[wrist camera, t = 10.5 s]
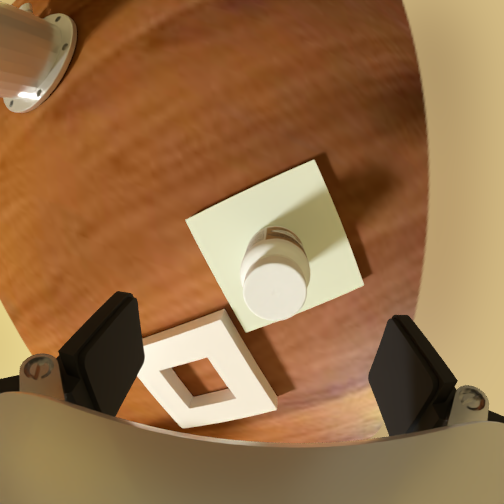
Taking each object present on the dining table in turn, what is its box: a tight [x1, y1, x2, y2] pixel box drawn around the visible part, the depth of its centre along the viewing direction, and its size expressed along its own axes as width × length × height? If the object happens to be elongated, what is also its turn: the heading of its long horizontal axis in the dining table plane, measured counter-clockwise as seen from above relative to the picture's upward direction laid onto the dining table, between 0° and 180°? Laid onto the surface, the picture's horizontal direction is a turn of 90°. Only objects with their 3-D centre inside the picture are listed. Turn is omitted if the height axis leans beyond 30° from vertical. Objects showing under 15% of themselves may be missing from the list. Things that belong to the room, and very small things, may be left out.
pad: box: [185, 160, 364, 333], centre depth 23 cm, size 11×11×1 cm
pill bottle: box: [240, 226, 311, 321], centre depth 19 cm, size 4×4×8 cm
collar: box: [137, 309, 277, 429], centre depth 27 cm, size 12×12×2 cm
